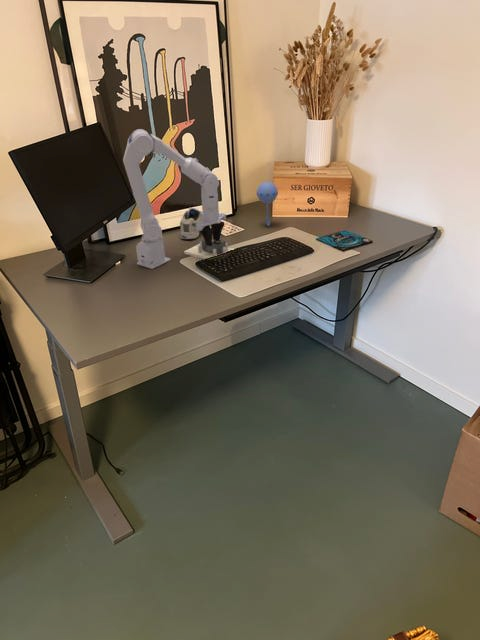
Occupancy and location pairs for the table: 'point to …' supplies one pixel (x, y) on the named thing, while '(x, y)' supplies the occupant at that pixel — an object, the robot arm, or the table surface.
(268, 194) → the baby rattle
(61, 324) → the table surface
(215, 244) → the block
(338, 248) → the guitar string package
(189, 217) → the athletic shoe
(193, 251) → the pegged base plate
